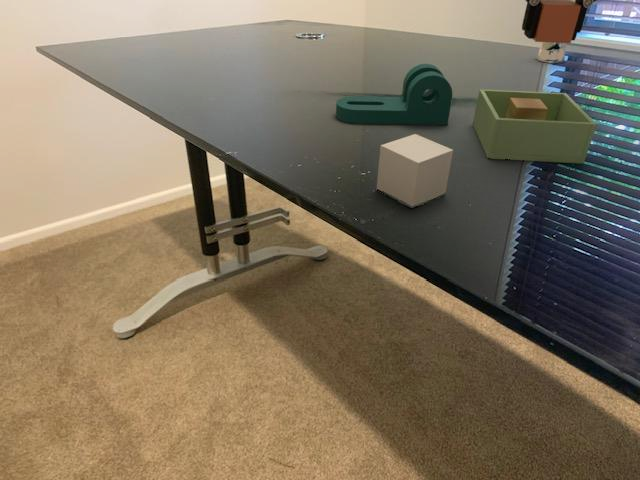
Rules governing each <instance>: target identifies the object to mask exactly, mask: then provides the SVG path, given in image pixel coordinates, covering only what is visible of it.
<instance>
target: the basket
mask: <svg viewBox="0 0 640 480" xmlns="http://www.w3.org/2000/svg"><path fill="white" fill-rule="evenodd" d="M510 98H531V99H540V100H541V101H542V102H543V103H544V105H545V106H546V107H547V108H548V111H547V115H546V118H545V120H528V119H508V118H505V117H506V113H507V109H508V105H509V100H510ZM473 115H474V116H473V121H472V126H473V128H474V130H475V134H476V135H477V137H478V140H479V142H480V145H481V147H482V149H483V151H484V154H485V156H486V158H487V159H488V158H490V159H489V160H505V159H508V160H507V161H523V160H524V161H525V162H543V163H561V164H562V163H563V164H578V165H579V164H580V165H584V163H585V160H586V158H587V156H588V151H589V149H590V146H591V143H592V141H593V138H594V135H595V131H596V128H597V126H598V124H597V123H596V122H595V121H594V120H593V119H592V117H590V116H589V115H588V113H586V111H584V110H583V109H582V107H581V106H579V105H578V103H577V102H575V100H574V99H573V98H571V96H569V95H568V93H566V92H550V91H549V92H548V91H547V92H546V91H526V90H503V89H485V88H484V89H482V88H480V89H479V91H478V95H477V101H476V106H475V110H474V114H473ZM509 159H510V160H509ZM524 161H523V162H524Z"/></svg>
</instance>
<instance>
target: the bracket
mask: <svg viewBox="0 0 640 480" xmlns="http://www.w3.org/2000/svg"><path fill="white" fill-rule="evenodd" d="M401 93H402V94H401V95H400V96H358V95H357V96H355V95H354V96H345V97H341V98H338V99H337V100H336V102H335V103H336V104H335V105H336V106H335V117H336V119H337V120H339V121H341V122H344V123H348V124H357V125H358V124H359V125H361V124H363V125H412V126H413V125H414V126H415V125H419V126H422V125H423V126H424V125H425V126H448V125H449V118H450V113H451V107H452V101H453V89H452V86H451V84H450V83H449V81H448V79H447V78H446V77H445V75H444V74H443V73H442V71H441V70H440V69H439V68H438V67H437V66H435V65H434V64H430V63H421V64H417V65H415V66H413V67H412V68H411V69H409V71H408V72H407V73H406V75H405V77H404V79H403V83H402V91H401Z"/></svg>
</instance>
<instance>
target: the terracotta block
mask: <svg viewBox="0 0 640 480" xmlns="http://www.w3.org/2000/svg"><path fill="white" fill-rule="evenodd" d="M540 6H541V7H542V10H541V14H540V18H539V22H538V26H537V30H536V34H535V37H534V38H533V39H532V41H534V42H535V43H542V42H553V43H567V44H571V43H572V41H573V40H572V37H573V33H574V29H575V26H576V22H577V19H578V15H579V12H580V8H581V6H580V5H578V4H576V3H574V2H573V1H571V0H541V2H540Z"/></svg>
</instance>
